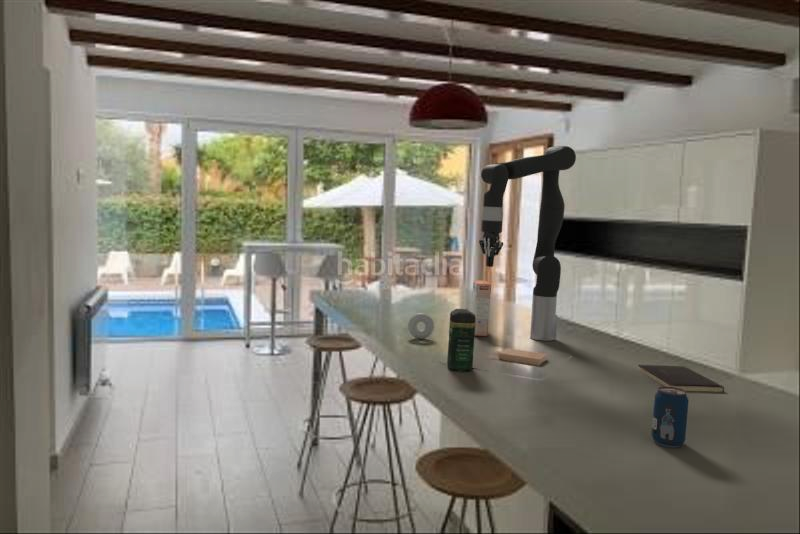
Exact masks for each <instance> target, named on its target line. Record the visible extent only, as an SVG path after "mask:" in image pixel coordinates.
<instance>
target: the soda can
mask: <svg viewBox="0 0 800 534" xmlns="http://www.w3.org/2000/svg"><path fill="white" fill-rule="evenodd" d="M688 411H689V398H688V396H687V391H684V390H682V389H679V388H674V387H665V386H660V387H658V388H657V392H655V394H654V402H653V413H652V414H653V415H652V422H651V424H652V427H651V438H652V439H653V441H654V443H655V444H657V445H659V446H663V447H667V448H680V447H682V445H683V444H684V443H685V442H686V436H687V435H686V434H687V426H688V425H687V423H688Z"/></svg>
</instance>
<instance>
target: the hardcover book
mask: <svg viewBox="0 0 800 534" xmlns="http://www.w3.org/2000/svg"><path fill="white" fill-rule="evenodd" d="M637 366H638V367H639V371H640V372H642V373H643V374H644V375H646V376H648V377H650V378H651V379H653V380H654V381H656V382H657V383H658V384H660V385H662V386H663V387H674V388H679V389H682V390H684V391H686V392H714V393H715V392H716V393H718V392H719V393H724V392H725V391H724V390H725V388H724V386H723V385H721V384H719V383H717V382H715V381H714V380H712V379H710V378H708V377H706V376H704V375H702V374H700V373H698V372H696V371H694V370H692V369H691V368H689V367H687V366H683V365H657V364H656V365H655V364H652V365H651V364H638V365H637Z"/></svg>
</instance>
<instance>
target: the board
mask: <svg viewBox="0 0 800 534" xmlns="http://www.w3.org/2000/svg"><path fill="white" fill-rule="evenodd" d="M500 352H501V351H496V352H494V353H492V354H490V355H488V356H486V357H485V359H487V360H494V361H502V362H507V363H513V364H521V365H525V366H526V365H527V366H533V367H540V366H541V365H542V364H543V363H545V362H547V361H548V360H549V359H548V358H547V359H546V360H545V361H544V362H543V363H541V364H540V365H535V364H529V363H522V362H516V361H510V360H503V359H499V358H498V354H499V353H500Z"/></svg>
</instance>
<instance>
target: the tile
mask: <svg viewBox="0 0 800 534" xmlns="http://www.w3.org/2000/svg"><path fill="white" fill-rule="evenodd" d="M499 352H500V353H499V354H498V358H499V359H503V360H510V361H516V362H522V363H529V364H535V365H539V366H541V365H542V364H543V362H544V361H545V360H546V359H548V354H547V353H543V352H537V351H535V352H534V351H527V350H521V349H516V348H514V349H513V348H505V349H503V350H501V351H499ZM546 361H547V360H546ZM546 361H545V362H546ZM545 362H544V363H545ZM541 363H542V364H541ZM540 364H541V365H540Z"/></svg>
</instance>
